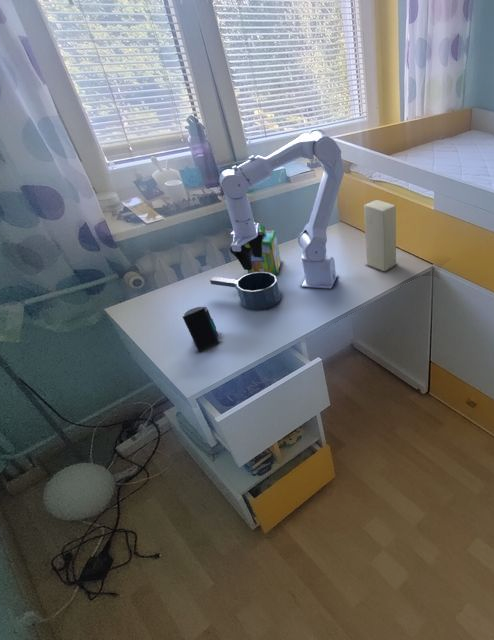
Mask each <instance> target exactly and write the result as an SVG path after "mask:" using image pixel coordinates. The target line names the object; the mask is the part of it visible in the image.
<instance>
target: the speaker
mask: <svg viewBox="0 0 494 640" xmlns="http://www.w3.org/2000/svg"><path fill="white" fill-rule="evenodd" d="M182 319H183V321H184V323H185V326H186V328H187V330H188V332H189V335H190V337H191V338H192V341H193V343H194V345H195V347H196V349H197V351H198V352H199V353H200V352H203V351H205V350H207V349H209V348H212V347H213V346H215V345H217V344H219V343H220V341H219V339H218V338H219V333H218V331H217V327H216V324H215V321H214V319H213V318H212V316H211V314H210V312H209V309H208V307H207V306H196V307H193V308H190V309H188V310H187V311H186V312H184V313H183V316H182Z"/></svg>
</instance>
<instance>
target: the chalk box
mask: <svg viewBox="0 0 494 640" xmlns="http://www.w3.org/2000/svg"><path fill="white" fill-rule="evenodd" d="M259 226H260V230H258V231H263V232H264V234H265V235H264V238H263V243H262V257H254V255H253V253H252V252H251V261H252V270H247V274H249V273H255V272H267V273H271V274H273V275H275V276H277V275H278V274H279V271H280V270H279V269H280V266H281V262H282V259H281V254H280V250H279V249H280V248H279V242H278V238H277V232H276V231H275V230H268V229H267V230H266V226H265V225H264V224H259ZM244 245H245V246H246V248H250V245H249V243H248V242H247V243H245V244H244Z"/></svg>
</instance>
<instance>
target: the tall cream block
mask: <svg viewBox="0 0 494 640" xmlns="http://www.w3.org/2000/svg"><path fill="white" fill-rule="evenodd" d="M363 212H364V214H363V215H364V231H365V252H366V265H367V266H369V267H371V268H374V269H377V270H379V271H382V272H387V271H388V270H389V269H391V268H393V267H394V266H396V265H397V206H396V204H392V203H389V202H386V201H382V200H379V199H375V200H371V201H370V202H367V203H366V204H364V205H363Z"/></svg>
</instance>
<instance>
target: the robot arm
mask: <svg viewBox="0 0 494 640" xmlns="http://www.w3.org/2000/svg"><path fill="white" fill-rule="evenodd" d="M301 158H303V159H308V160H311V161H312V160H315V158H316V159H317V160H318V162H319V165H320V166H321V167H322V170H323V173H322V177H321V179H320V184H319V187H318V190H317V193H316V196H315V200H314V204H313V207H312V210H311V213H310V218H309V221H308V223H306V224H305V225H304V226H303V227H304V228H303V230H302V232H301V233H299V235H298V237H297V244H298V246H299V247H300V248H301V249H302V253H301V255H300V256H301V257H300V258H301V262H302V263H301V264H302V268H303V272H304V273H303V274H304V280H303V282H302V283H301V287H303V288H316V289H332V288H333V286H334V284H335V281H336V280H337V278H338V275H337V270H336V262H335V258H334V256H330V255H327V242H328V238H327V229H328V226H329V222H330V219H331V216H332V213H333V209H334V206H335V203H336V200H337V196H338V193H339V190H340V187H341V184H342V181H343V178H344V175H345V169H344V163H343V159H342V150H341V148H340V146H339V145H338V143H337V142H336V141H335V140H334V139H333V138H332V137H330V136H329V135H327V133H326V132H324V131H323V130H322V129H318V128H313V129H311V130H310V131H309V132H305V133H302V134H300V136H298V137H297V138H295V139H294V140H292V141H290V142H289V143H287V144H286V145H283V146H282V147H280V148H279V149H277V150H276V151H274V152H273V153H271V154H269V155H267V156H266V157H265V156H262V155H256V156H254V155H250V156H249V157H248V160H247V161H245V162H243V163H241V164H239V165H233V166H231V169H225V170H223V171H222V172H221V173H220V175H219V178H218V184H219V185H220V187H221V189H222V191H223V193H224V195H223V196H224V200H225V205H226V209H227V212H228V215H229V219H230V223H231V226H232V231H231V232H230V236H231V237H233V239H232V243H231V244H230V245H231V246H230V247H229V252H230V253H231V254H232V255H233V256H234V257H235V258H236V259H237V261H238V262H239V263H240V266H242V269H243V270H244V271H248V270H252V261H251V252H252V253H253V255H254V257H262V243H263V238H264V235H265V234H264V232H263V231H258V230H260V226H259V225H260V222H255V220H254V215H253V211H252V207H251V203H250V200H249V198H248V190H250V189H252V188H254V187H256V186H258V185H260V184H261V183H263V182H265V181H267V180H269V179H270V178H272V176H273V173H274V170H276V169H279V168H281V167H283V166H285V165H287V164H289V163H292V162H294V161H296V160H298V159H301ZM247 242H248V243H249V245H250V248H246V246H245V245H244V244H245V243H247Z"/></svg>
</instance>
